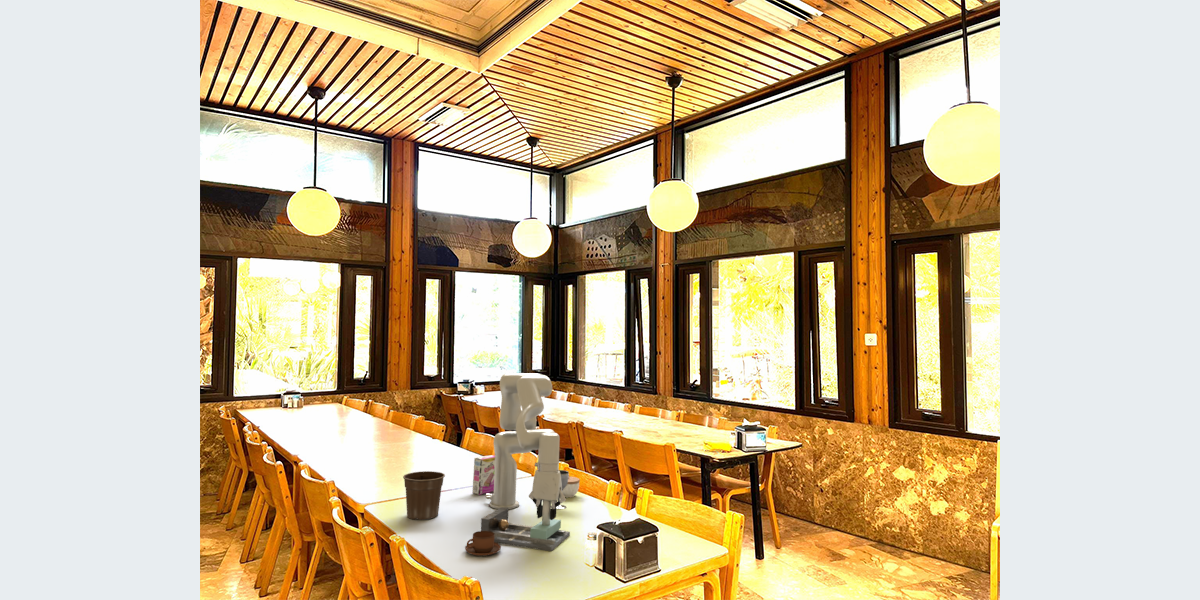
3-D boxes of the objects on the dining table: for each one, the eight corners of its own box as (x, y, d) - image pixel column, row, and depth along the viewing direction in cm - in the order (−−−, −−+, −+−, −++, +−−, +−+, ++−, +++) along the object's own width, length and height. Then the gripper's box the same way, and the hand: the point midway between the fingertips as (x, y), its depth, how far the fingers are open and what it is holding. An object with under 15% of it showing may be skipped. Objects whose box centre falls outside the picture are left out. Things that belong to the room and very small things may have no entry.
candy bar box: (479, 495, 283) (481, 459, 284) (472, 493, 286) (473, 457, 287) (497, 491, 292) (498, 456, 293) (489, 489, 295) (491, 454, 296)
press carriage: (530, 537, 219) (531, 492, 220) (545, 526, 233) (547, 484, 234) (545, 539, 218) (547, 494, 218) (560, 528, 231) (562, 485, 232)
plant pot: (393, 515, 250) (395, 474, 251) (428, 507, 261) (430, 469, 262) (414, 524, 239) (417, 482, 239) (450, 516, 250) (452, 476, 251)
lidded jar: (583, 495, 290) (584, 475, 291) (570, 500, 281) (571, 479, 282) (564, 491, 296) (565, 471, 296) (551, 496, 287) (552, 475, 287)
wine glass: (570, 505, 272) (571, 471, 273) (563, 510, 264) (564, 474, 265) (553, 503, 275) (554, 469, 275) (546, 508, 267) (547, 472, 268)
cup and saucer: (484, 561, 203) (484, 542, 204) (457, 553, 210) (458, 535, 210) (507, 551, 214) (508, 533, 214) (481, 544, 220) (482, 526, 220)
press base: (479, 540, 223) (479, 519, 224) (501, 526, 240) (502, 506, 241) (551, 551, 215) (552, 529, 215) (569, 535, 232) (570, 515, 232)
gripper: (522, 466, 225) (520, 518, 224) (566, 471, 220) (564, 524, 219) (531, 463, 233) (529, 512, 232) (573, 467, 227) (571, 518, 226)
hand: (546, 517), depth 225 cm, fingers open, 4 cm apart
